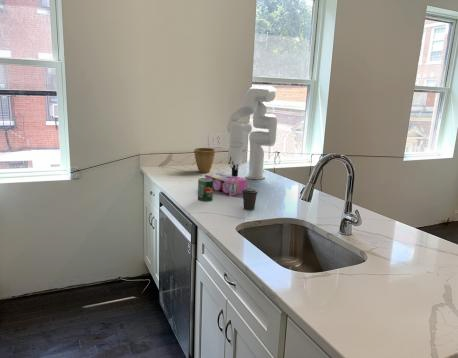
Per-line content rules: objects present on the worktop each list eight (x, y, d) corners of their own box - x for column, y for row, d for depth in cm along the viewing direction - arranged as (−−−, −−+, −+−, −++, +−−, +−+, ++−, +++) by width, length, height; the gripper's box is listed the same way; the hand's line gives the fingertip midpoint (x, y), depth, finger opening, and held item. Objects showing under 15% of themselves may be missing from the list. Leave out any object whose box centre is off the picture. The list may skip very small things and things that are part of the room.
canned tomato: (210, 202, 198) (211, 181, 195) (195, 201, 199) (196, 180, 197) (214, 198, 205) (214, 178, 203) (200, 197, 207) (200, 177, 204)
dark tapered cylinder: (248, 205, 195) (249, 186, 193) (260, 209, 190) (261, 189, 188) (237, 208, 190) (238, 188, 188) (249, 212, 184) (250, 192, 182)
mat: (219, 186, 231) (219, 185, 231) (254, 192, 220) (254, 192, 220) (206, 191, 219) (206, 190, 219) (243, 198, 208) (243, 197, 208)
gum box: (221, 183, 236) (203, 186, 227) (221, 171, 234) (203, 173, 225) (247, 192, 218) (229, 196, 209) (248, 179, 216) (229, 182, 208)
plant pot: (193, 169, 276) (193, 147, 273) (213, 169, 278) (214, 148, 274) (193, 173, 262) (194, 150, 258) (215, 174, 264) (216, 151, 260)
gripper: (236, 142, 225) (235, 173, 229) (223, 145, 212) (222, 177, 216) (247, 144, 221) (246, 174, 226) (235, 146, 209) (234, 179, 213)
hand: (234, 176), depth 221 cm, fingers closed
